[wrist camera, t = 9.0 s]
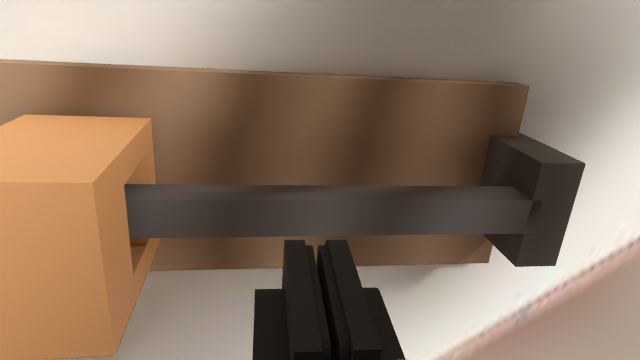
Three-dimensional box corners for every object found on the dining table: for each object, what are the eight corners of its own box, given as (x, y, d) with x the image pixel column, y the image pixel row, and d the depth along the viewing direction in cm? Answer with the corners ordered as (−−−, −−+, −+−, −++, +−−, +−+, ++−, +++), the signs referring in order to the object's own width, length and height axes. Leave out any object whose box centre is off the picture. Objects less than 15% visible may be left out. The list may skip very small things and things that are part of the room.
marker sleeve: (151, 118, 19) (92, 182, 12) (160, 240, 21) (115, 356, 14) (24, 114, 18) (-117, 181, 11) (47, 241, 20) (-60, 365, 13)
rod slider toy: (526, 83, 23) (637, 114, 16) (487, 253, 26) (565, 334, 20) (-107, 54, 18) (-305, 80, 12) (-49, 264, 22) (-177, 373, 15)
